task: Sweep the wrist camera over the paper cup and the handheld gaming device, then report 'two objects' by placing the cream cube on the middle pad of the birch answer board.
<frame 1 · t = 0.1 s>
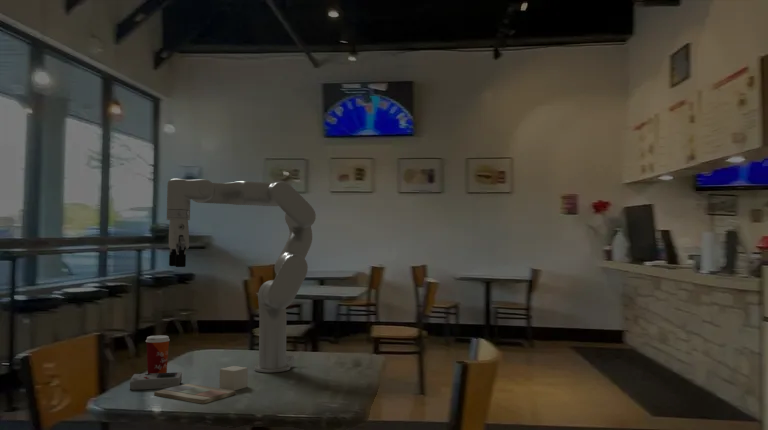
hand: (177, 266, 215), 37 cm above the table, tool pointing down, fingers open, 9 cm apart
paper cup: (157, 380, 211), on the table
answer board: (195, 394, 189), on the table
cream cube: (233, 387, 199), on the table
handheld gaming device: (156, 388, 201), on the table
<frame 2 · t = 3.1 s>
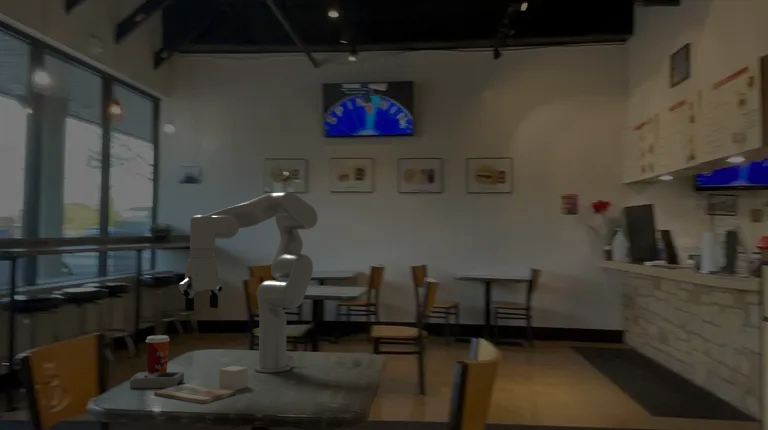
hand: (201, 309, 200), 24 cm above the table, tool pointing down, fingers open, 9 cm apart
handheld gaming device: (156, 387, 202), on the table
everything else where it was.
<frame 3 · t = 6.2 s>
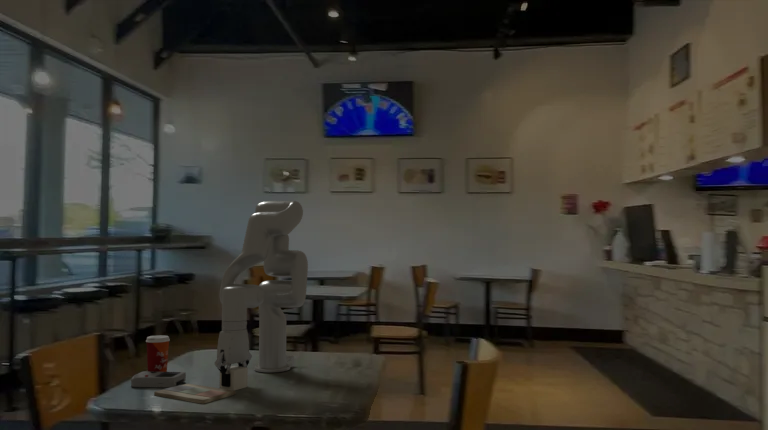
hand: (233, 383, 199), 1 cm above the table, tool pointing down, fingers closed on cream cube, 6 cm apart
cream cube: (233, 387, 199), on the table, touching gripper
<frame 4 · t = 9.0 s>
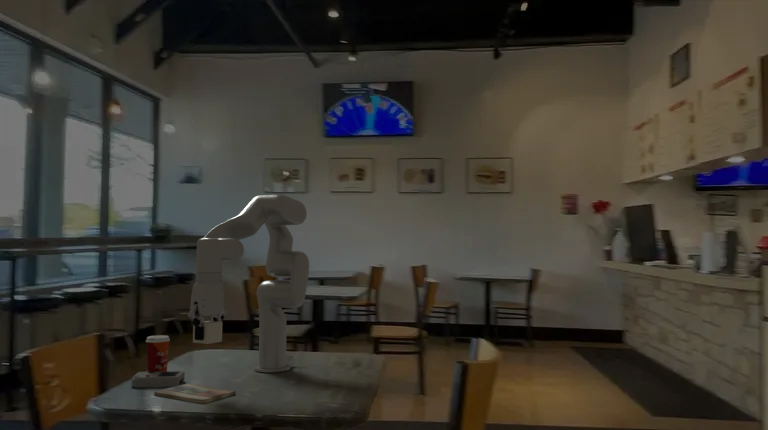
hand: (207, 338, 193), 16 cm above the table, tool pointing down, fingers closed on cream cube, 6 cm apart
cream cube: (207, 342, 193), point 15 cm above the table, touching gripper
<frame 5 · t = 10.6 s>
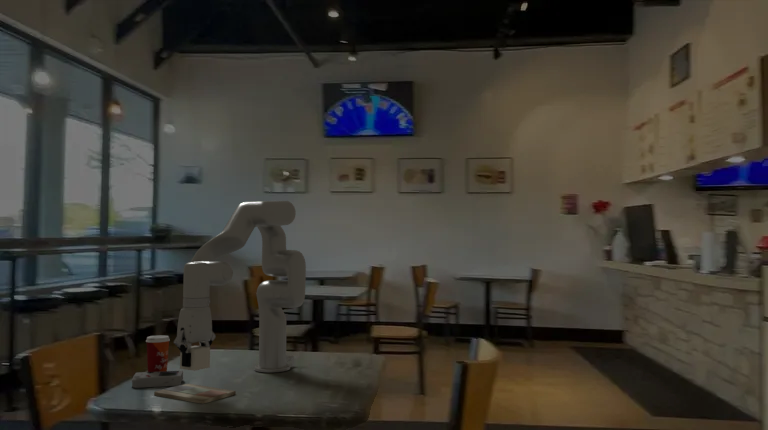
hand: (194, 364, 189), 9 cm above the table, tool pointing down, fingers closed on cream cube, 6 cm apart
cream cube: (194, 368, 189), point 8 cm above the table, touching gripper
when the fingers open (4 cm above the table, at t = 12.0 s): cream cube drops 1 cm, resting on answer board.
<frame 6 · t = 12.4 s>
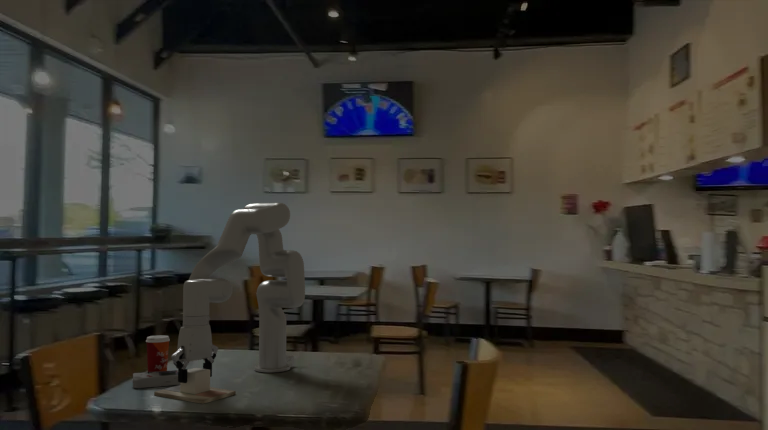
hand: (195, 379, 189), 4 cm above the table, tool pointing down, fingers open, 9 cm apart
cream cube: (195, 390, 189), point 1 cm above the table, touching answer board
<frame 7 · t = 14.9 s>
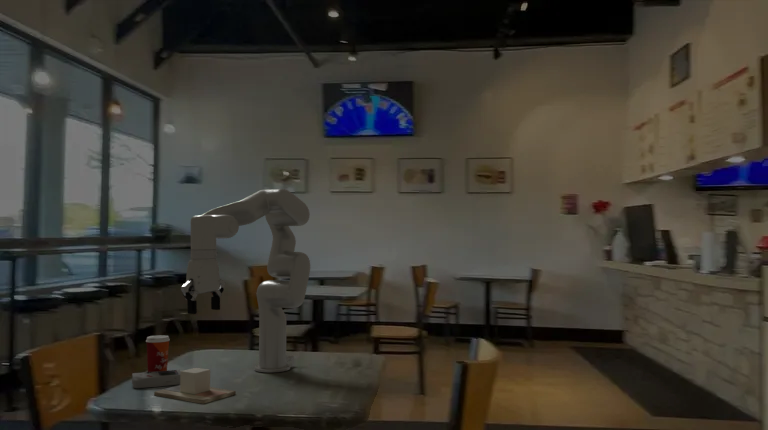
hand: (204, 311, 195), 24 cm above the table, tool pointing down, fingers open, 9 cm apart
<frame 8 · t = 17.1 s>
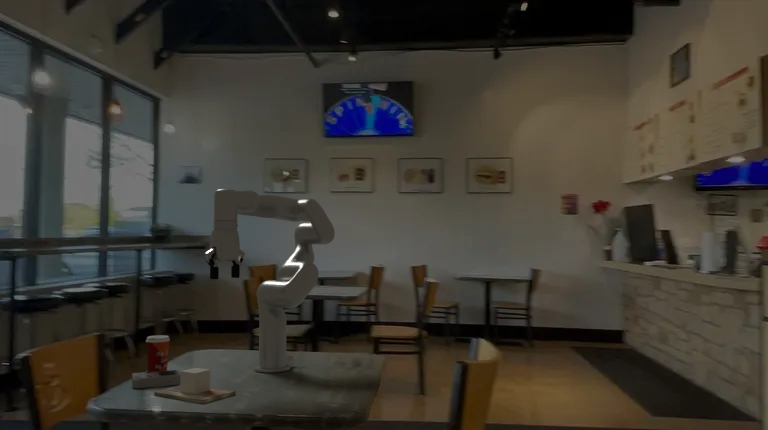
hand: (225, 278, 211), 33 cm above the table, tool pointing down, fingers open, 9 cm apart
at the end: cream cube 0.0 cm off-centre on the answer board, point 1.1 cm above the answer board's base; cream cube tilted 0°; the gripper is holding nothing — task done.
